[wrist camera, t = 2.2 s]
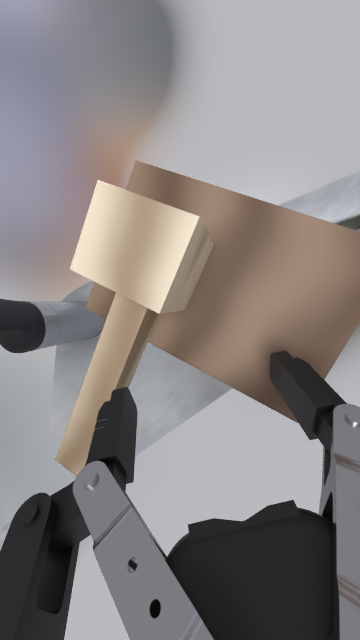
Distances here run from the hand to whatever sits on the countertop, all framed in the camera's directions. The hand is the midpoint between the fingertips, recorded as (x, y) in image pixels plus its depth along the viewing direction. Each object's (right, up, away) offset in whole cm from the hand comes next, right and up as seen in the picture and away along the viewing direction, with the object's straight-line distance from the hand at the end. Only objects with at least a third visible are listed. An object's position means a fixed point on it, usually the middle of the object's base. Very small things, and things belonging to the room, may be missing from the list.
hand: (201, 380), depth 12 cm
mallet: (-5, +1, +5) cm, 8 cm away
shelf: (+10, +8, +34) cm, 36 cm away
